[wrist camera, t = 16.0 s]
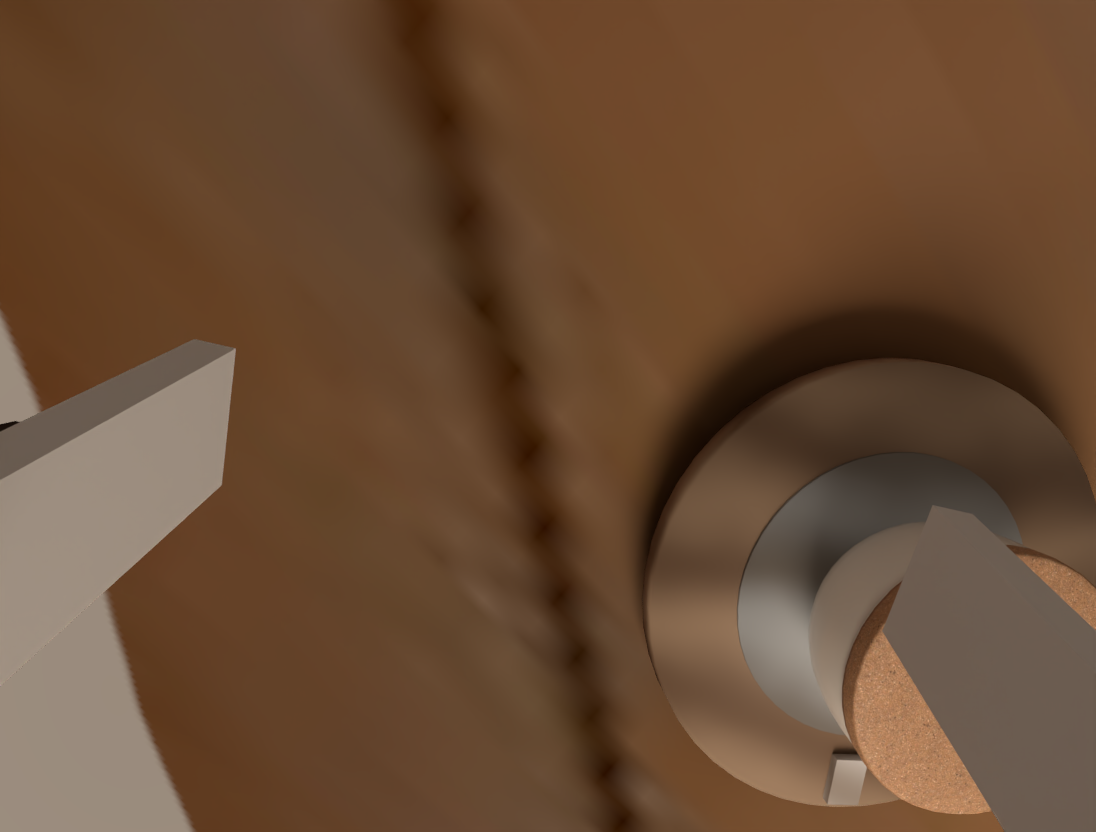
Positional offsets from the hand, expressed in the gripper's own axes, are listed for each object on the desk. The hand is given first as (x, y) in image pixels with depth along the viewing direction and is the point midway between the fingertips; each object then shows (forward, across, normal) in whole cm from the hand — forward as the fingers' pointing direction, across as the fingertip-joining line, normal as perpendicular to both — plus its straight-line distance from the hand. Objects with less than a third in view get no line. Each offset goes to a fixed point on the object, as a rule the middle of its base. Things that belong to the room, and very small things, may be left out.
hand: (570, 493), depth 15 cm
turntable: (+22, +16, -10) cm, 29 cm away
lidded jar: (+20, +17, -10) cm, 28 cm away
